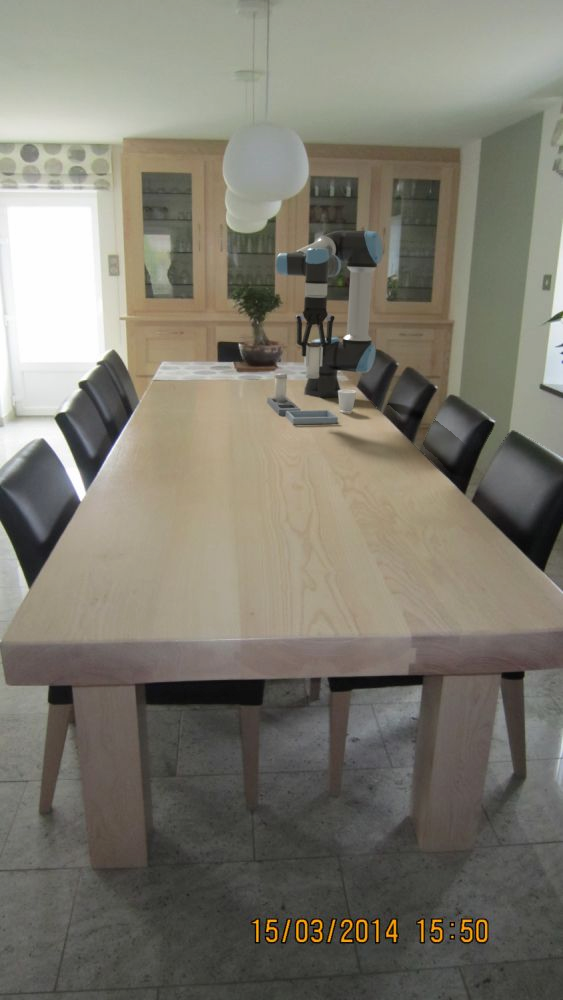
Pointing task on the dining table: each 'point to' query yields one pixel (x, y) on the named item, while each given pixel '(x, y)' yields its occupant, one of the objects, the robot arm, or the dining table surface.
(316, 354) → the cylinder
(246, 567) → the dining table surface
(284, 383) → the cylinder
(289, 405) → the fuse strip
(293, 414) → the parts tray
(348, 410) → the cup
